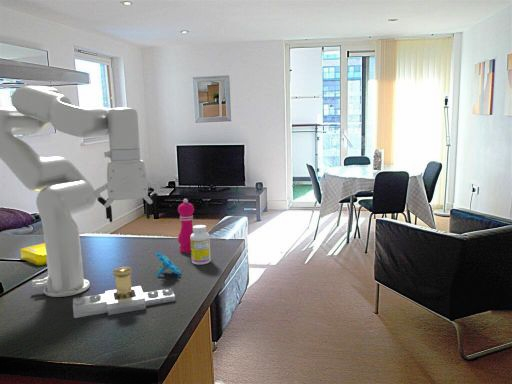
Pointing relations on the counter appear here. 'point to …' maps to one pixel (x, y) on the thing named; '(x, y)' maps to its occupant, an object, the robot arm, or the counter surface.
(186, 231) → the pepper mill
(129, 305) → the white studded link plate
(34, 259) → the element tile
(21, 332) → the counter surface
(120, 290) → the pin
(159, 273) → the gear
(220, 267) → the counter surface
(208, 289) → the counter surface
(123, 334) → the counter surface
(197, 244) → the supplement bottle
